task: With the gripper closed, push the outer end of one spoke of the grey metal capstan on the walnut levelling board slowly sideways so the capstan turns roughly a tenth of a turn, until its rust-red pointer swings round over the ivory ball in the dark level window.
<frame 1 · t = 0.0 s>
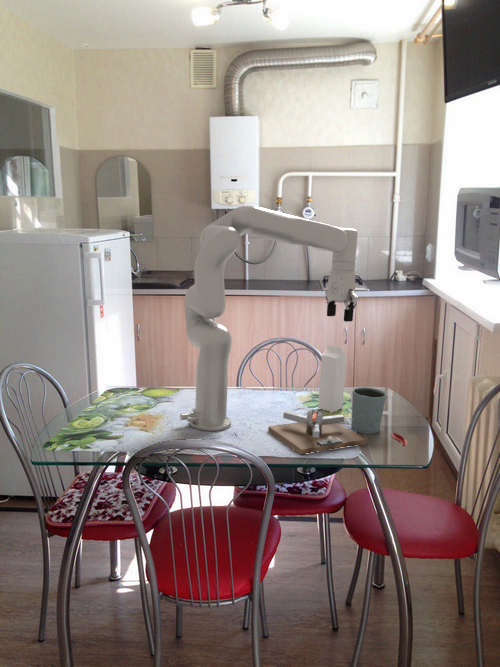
hand: (339, 318, 196), 31 cm above the table, tool pointing down, fingers open, 9 cm apart
level window: (329, 442, 167), on the levelling board, point 2 cm above the table
capstan: (320, 420, 174), point 5 cm above the table, hinge at 0.0°
level ball: (329, 438, 167), on the level window, point 2 cm above the table
levelling board: (316, 437, 175), on the table
milk: (330, 409, 202), on the table
grey-green cup: (366, 429, 184), on the table
cayenne pepper: (399, 441, 177), on the table
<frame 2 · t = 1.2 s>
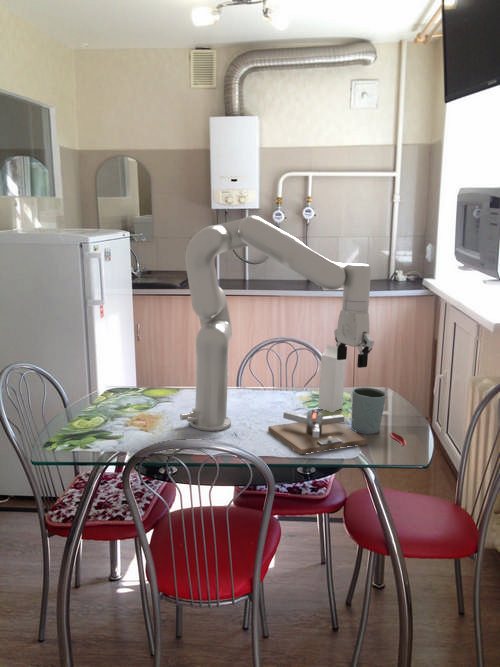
hand: (351, 363, 176), 22 cm above the table, tool pointing down, fingers open, 9 cm apart
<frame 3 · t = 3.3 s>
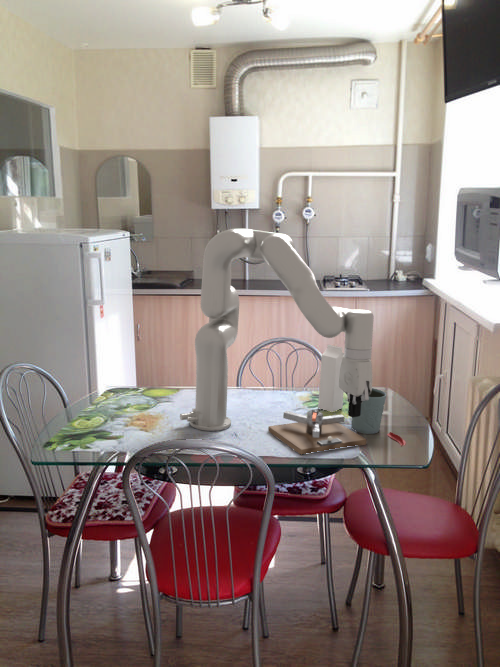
hand: (354, 415, 170), 8 cm above the table, tool pointing down, fingers closed
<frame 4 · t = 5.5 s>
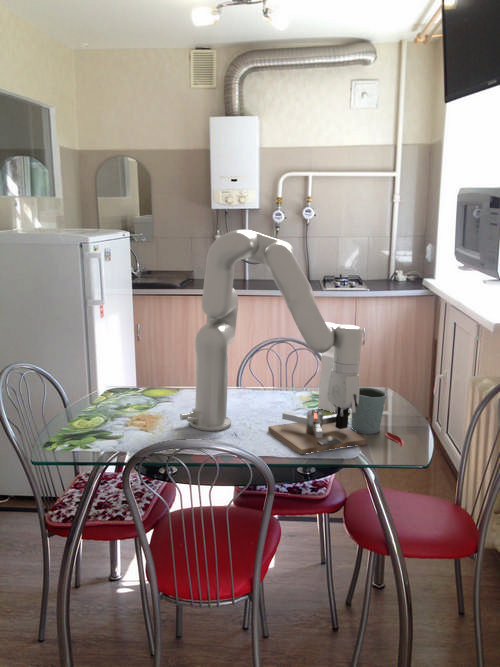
hand: (341, 427, 175), 3 cm above the table, tool pointing down, fingers closed
capstan: (320, 420, 175), point 5 cm above the table, hinge at 5.0°, touching gripper
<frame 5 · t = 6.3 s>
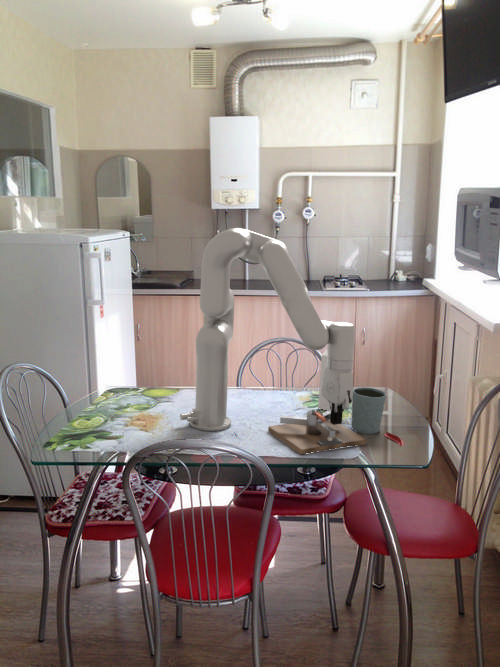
hand: (335, 423, 178), 3 cm above the table, tool pointing down, fingers closed
capstan: (318, 419, 175), point 5 cm above the table, hinge at 27.4°, touching gripper
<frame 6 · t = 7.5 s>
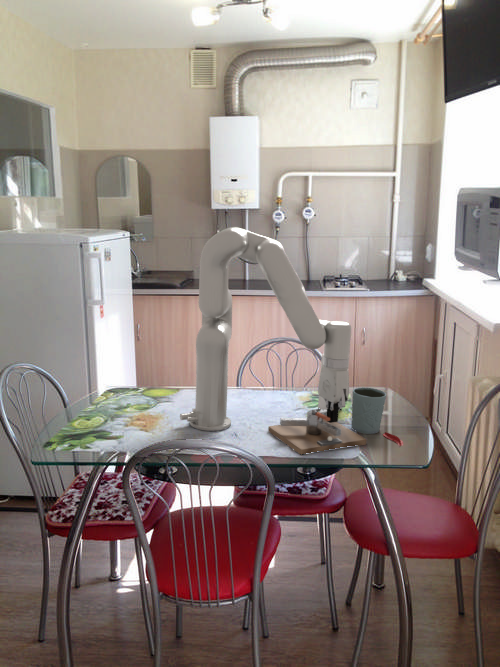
hand: (331, 421, 180), 3 cm above the table, tool pointing down, fingers closed
capstan: (316, 419, 175), point 5 cm above the table, hinge at 40.0°, touching gripper
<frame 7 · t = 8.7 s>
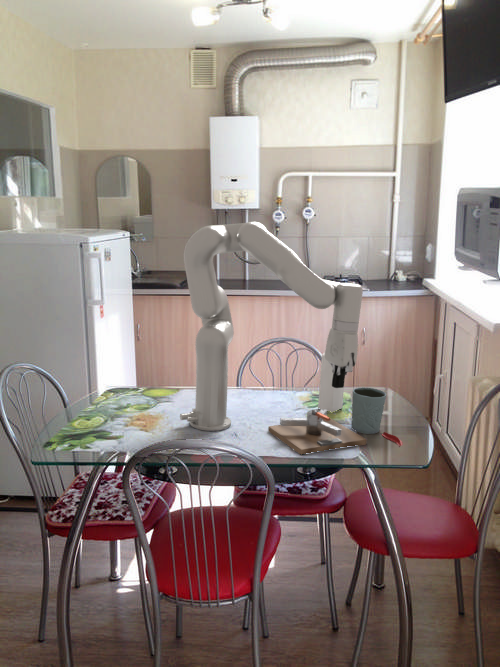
hand: (337, 386, 175), 15 cm above the table, tool pointing down, fingers closed
capstan: (316, 419, 175), point 5 cm above the table, hinge at 40.1°
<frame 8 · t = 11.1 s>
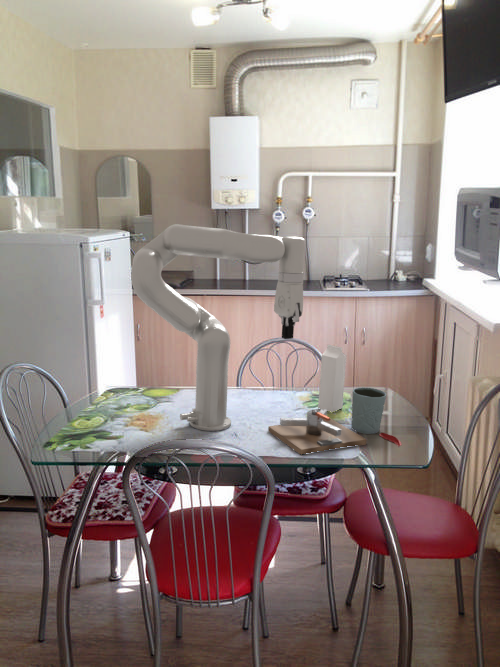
hand: (287, 338, 181), 27 cm above the table, tool pointing down, fingers closed
at the end: capstan at +40° (first picture: +0°); the gripper is holding nothing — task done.
